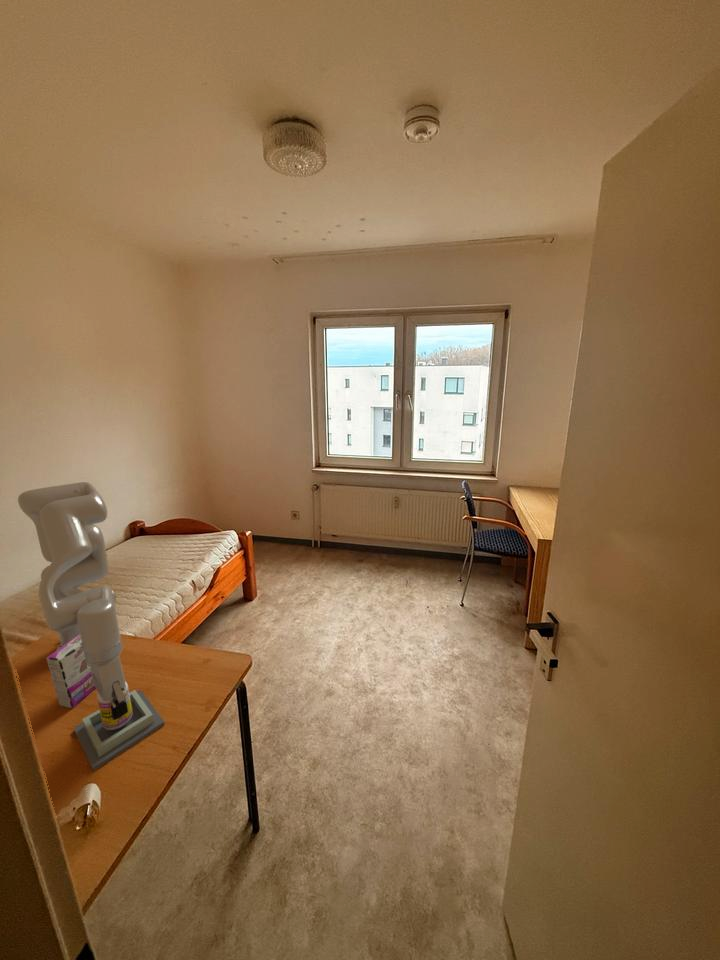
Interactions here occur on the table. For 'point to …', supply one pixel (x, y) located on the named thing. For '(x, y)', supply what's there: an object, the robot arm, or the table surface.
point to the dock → (117, 731)
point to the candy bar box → (70, 673)
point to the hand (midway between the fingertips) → (115, 706)
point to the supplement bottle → (107, 713)
